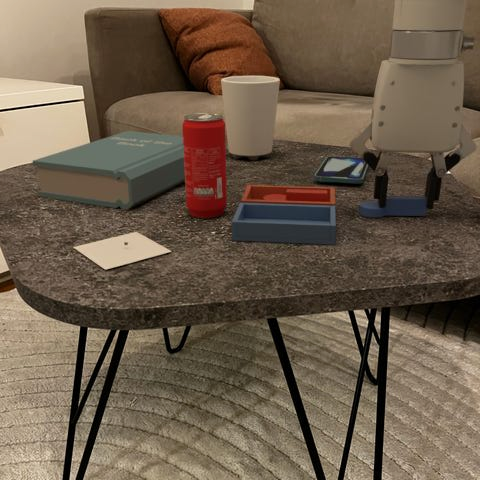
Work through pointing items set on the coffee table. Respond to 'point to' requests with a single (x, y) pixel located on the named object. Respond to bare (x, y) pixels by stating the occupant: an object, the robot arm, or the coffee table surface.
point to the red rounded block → (299, 195)
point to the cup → (250, 114)
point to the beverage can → (205, 164)
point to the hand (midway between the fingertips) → (404, 203)
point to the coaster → (121, 250)
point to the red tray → (259, 191)
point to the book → (114, 170)
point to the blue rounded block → (395, 207)
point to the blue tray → (284, 223)
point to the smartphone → (342, 170)
